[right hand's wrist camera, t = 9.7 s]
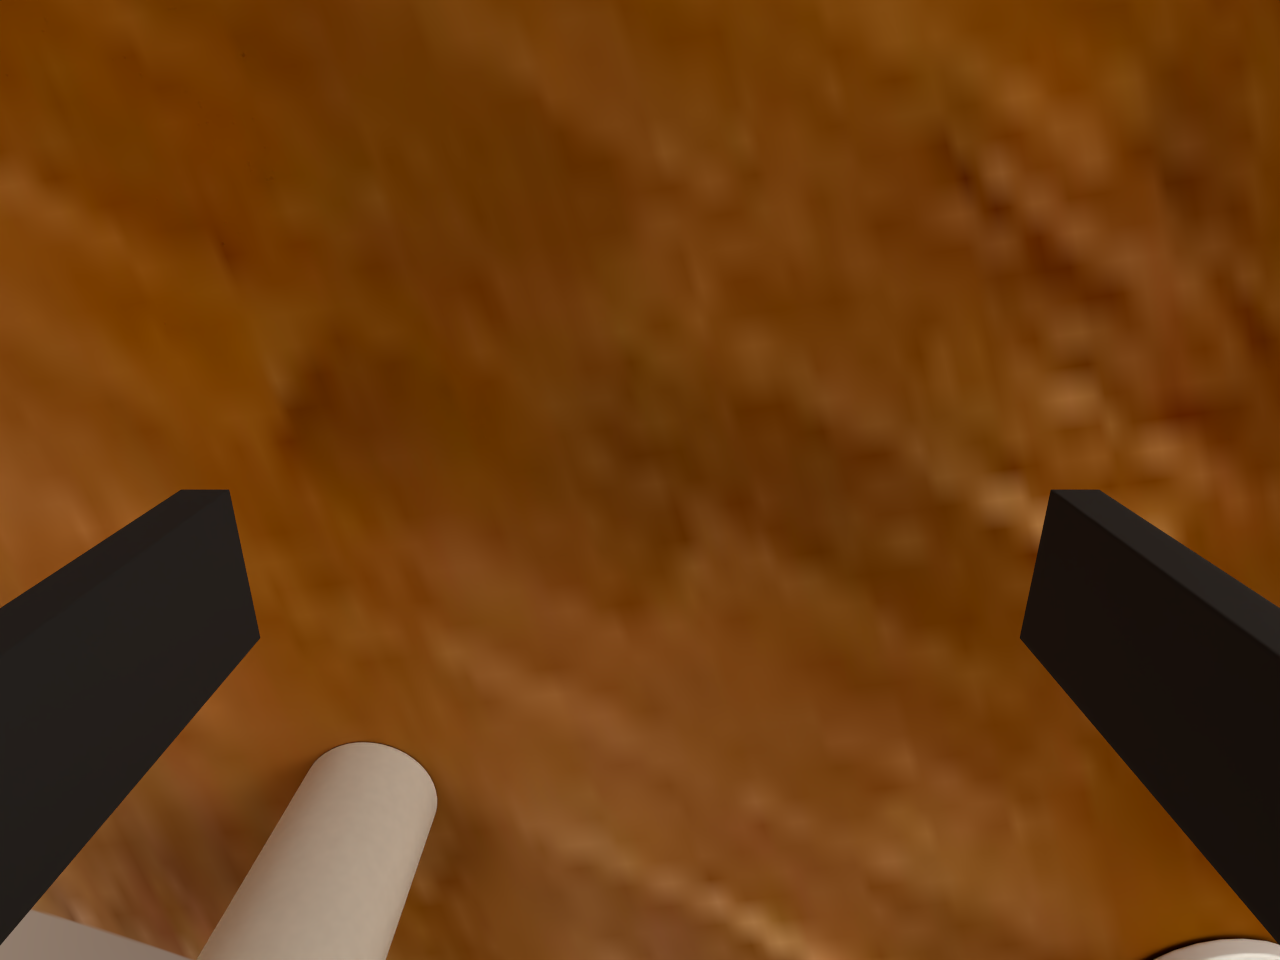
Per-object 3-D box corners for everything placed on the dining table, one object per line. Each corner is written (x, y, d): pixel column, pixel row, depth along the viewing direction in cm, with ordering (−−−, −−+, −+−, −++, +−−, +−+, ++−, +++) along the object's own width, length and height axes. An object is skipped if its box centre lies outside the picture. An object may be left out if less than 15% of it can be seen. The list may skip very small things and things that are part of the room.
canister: (449, 841, 37) (365, 1115, 26) (323, 852, 38) (186, 1129, 26) (422, 735, 35) (318, 983, 24) (290, 747, 35) (125, 999, 24)
